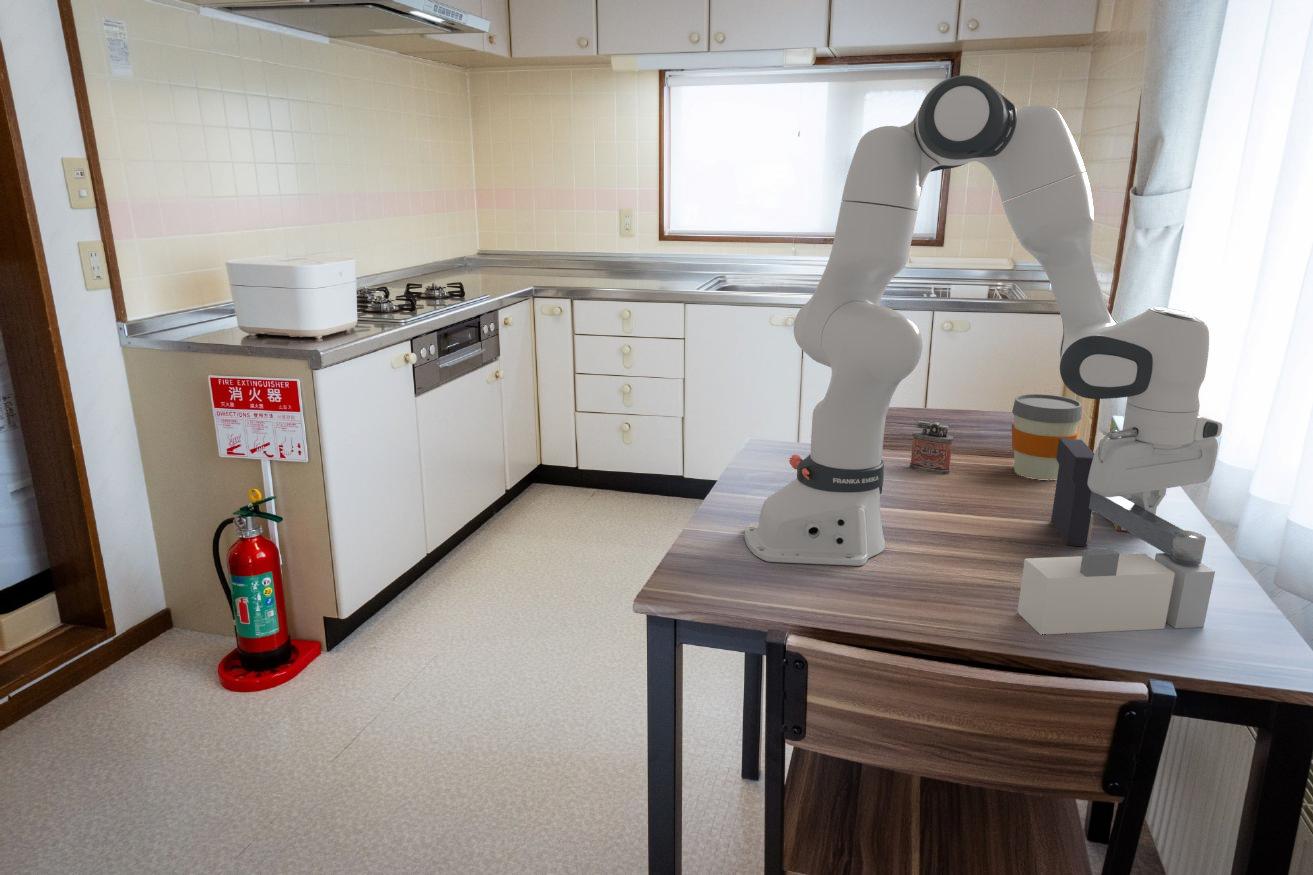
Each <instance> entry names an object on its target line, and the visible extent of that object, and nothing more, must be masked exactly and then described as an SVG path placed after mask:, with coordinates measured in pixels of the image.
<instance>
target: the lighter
mask: <svg viewBox="0 0 1313 875" xmlns="http://www.w3.org/2000/svg"><path fill="white" fill-rule="evenodd" d="M916 429H922V431H921V430H916V431H913V432H912V435H911V436H912V444H911V445H912V446H911V456H910V457H911V458H910V462H909V469H911V470H915V471H919V472H923V473H929V474H935V475H943V476H944V475H945V476H946V475H950V473H951V468H950V466H951V457H952V448H953V443H954V438H955V437H954V436H952V435H948V432H949V426H948V425H943V424H941V423H940V422H938V421H935V422H933V423H930V422H929V421H921V420H919V421H917V422H916ZM928 430H929V431H928Z"/></svg>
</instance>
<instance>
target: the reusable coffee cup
mask: <svg viewBox="0 0 1313 875" xmlns="http://www.w3.org/2000/svg"><path fill="white" fill-rule="evenodd" d="M1014 398H1015V399H1014V402H1013V406H1012V411H1011V412H1012V414H1013V423H1012V425H1011V447H1012V449H1013V450H1014V451H1013V452H1014V453H1013V456H1014V462H1013V463H1014V470H1015V471H1014V473H1015V472H1016V473H1019V474H1020V475H1024V476H1026V477H1032V478H1035V479H1048V480H1050V479H1052V480H1053V479H1057V476H1058V469H1059V463H1058V461H1057V459H1056V456H1057V449H1058V442H1059V439H1060V438H1061V439H1078V438H1077V437H1078V433H1079V432H1078V430H1077V429H1078V426H1079V422H1080V421H1081V420H1082V414H1083V412H1082V411H1083V409H1082V408H1083V403H1082V402H1080V401H1079V400H1077V399H1075V398H1070V397H1066V396H1061V395H1056V394H1047V393H1046V394H1045V393H1029V394H1028V393H1027V394H1020V395H1018V396H1016V397H1014ZM1016 473H1015V474H1016ZM1020 475H1019V476H1020Z"/></svg>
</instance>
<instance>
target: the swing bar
mask: <svg viewBox="0 0 1313 875" xmlns="http://www.w3.org/2000/svg"><path fill="white" fill-rule="evenodd" d="M1089 508H1090V509H1091V510H1093V511H1094V513H1097V514H1098V515H1100V516H1102V517H1104V519H1106V520H1109V521H1110V522H1112V523H1115V524H1117V525H1118V526H1120V527H1122V528H1123V529H1125V530H1127V531H1128V532H1127V533H1130V534H1132V535H1134V536H1136V537H1137V538H1138V539H1140V540H1141V541H1143V542H1146V543H1147V544H1149V545H1151V546H1152V547H1154V548H1156V549H1158V550H1159V551H1160V552H1161V553H1166V554H1167V555H1169V556H1170V558H1171V559H1172V560H1173V561H1175V562H1178V563H1181V564H1185V565H1199V564H1201V563H1202V561H1203V556H1204V550H1205V545H1206V541H1207V538H1206V536H1205V535H1204V534H1201V533H1199V532H1195V531H1191V530H1185V529H1183V528H1180V527H1179V526H1177V525H1175V524H1173V523H1171V522H1169V521H1167V520H1165V519H1163V518H1162V517H1160V516H1158V515H1154V514H1153V513H1151V512H1149V511H1147V510H1145V509H1143V508H1141V507H1140V506H1138V505H1136V504H1134V503H1132V502H1130V501H1129V500H1127V499H1125V498H1123V497H1121V496H1116V497H1104V496H1102V495H1099V494H1097V493H1094V492H1092V491H1091V496H1090V503H1089Z"/></svg>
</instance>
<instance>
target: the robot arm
mask: <svg viewBox="0 0 1313 875" xmlns="http://www.w3.org/2000/svg"><path fill="white" fill-rule="evenodd" d="M1060 113H1061V112H1059V111H1058V110H1057V109H1056V108H1054V107H1052V106H1050V105H1043V104H1037V105H1036V104H1035V105H1028V106H1024V107H1021V108H1019V109H1017V107H1016V105H1015V103H1013V102H1011V100H1009V99H1008V98H1007V97H1006V96H1005V95H1003V94H1002V93H1001V92H1000V91H999V90H997V89H996V87H994V86H993V85H991V84H990V83H989V82H987V81H986V80H984V79H983V78H981V77H979V76H978V77H977V76H975V75H974V76H973V75H965V74H962V75H956V76H952V77H949V78H947V79H944V80H942V81H941V82H939V83H937V84H936V85H935V86H934V87H933V88H932V89H930V90H929V92H928V93H927V94H926V96H925V97H924V99H923V100H922V103H921V105H920V107H919V109H918V111H917V113H916V115H915V116H914V118H913V119H912V120H911V121H910V122H909V123H908V124H905V125H901V126H896V125H885V126H880V127H876V128H873V129H871V130H868V131H867V132H866V133H864V135H863V136H862V137H861V138H860V140H859V141H858V143H857V146H856V148H855V151H854V153H853V157H852V159H851V162H850V165H849V168H848V171H847V175H846V179H845V183H844V186H843V192H842V196H841V202H840V207H839V212H838V217H837V222H836V227H835V232H834V237H833V243H832V247H831V251H830V255H829V258H828V261H827V263H826V266H825V269H824V271H823V272H822V275H821V278H820V280H819V282H818V285H817V287H816V288H815V290H814V293H813V294H812V296H811V298H809V300H808V301H806V303H805V304H803V305H802V306H801V307H800V309H799V310H798V312H797V314H796V316H795V319H794V322H793V335H794V336H793V337H794V339H795V342H796V344H797V346H798V347H799V348H800V349H801V350H802V351H803V352H804V353H805V354H806V355H807V356H808V357H809V358H811V359H812V360H813V361H815V362H816V363H819V364H822V365H824V366H826V367H828V368H830V369H831V376H830V382H829V385H828V388H827V390H826V393H825V396H824V397H823V399H821V400H819V402H818V403H817V404H816V405H814V408H813V411H812V418H811V419H812V420H811V421H812V422H811V433H810V434H811V436H810V439H811V440H810V452H809V455H808V456H806V457H805V458H804V459H802V458H801V456H800V455H798V454H792V455H791V456H790V457H789V459H788V462H789V464H790V465H791V468H793V470H796V478H794V480H793V481H791V482H790V483H788V484H787V485H785V486H783V487H782V488H781V489H779V490H778V491H775V492H774V493H773V494H771V495H770V496H768V497H767V498H766V499H765V500H764V501H763V504H762V507H761V509H760V512H759V518H758V521H757V522H752V523H749V524H748V525H747V526H746V527H745V530H744V541H745V545H746V546H747V547H748V549H749V550H750V552H751V553H753V555H755V556H756V557H757V558H759V559H761V560H763V561H765V562H768V563H769V562H770V563H787V564H788V563H789V564H790V563H792V564H811V565H812V564H813V565H833V566H834V565H836V566H855V567H856V566H858V567H859V566H863V565H865V564H866V563H867V562H868V560H869V559H870V558H872V557H875V556H876V555H879V554H880V553H882V552H883V551H884V550H885V548H886V540H885V537H884V533H883V525H882V517H881V495H882V493H883V492H882V491H883V486H884V479H885V467H884V466H885V463H884V460H883V448H884V447H883V446H884V436H885V429H886V427H885V426H886V420H887V413H888V411H889V407H890V404H891V402H892V399H893V396H894V393H895V392H896V389H897V388H898V386H899V385H900V382H902V381H903V380H904V379H906V378H907V377H908V376H909V375H911V373H912V372H913V371H914V370H915V369H916V367H917V365H918V364H919V362H920V360H921V356H922V354H923V338H922V335H921V332H920V330H919V328H918V326H917V325H916V323H914V321H912V320H910V319H909V318H907V317H906V316H904V315H903V314H901V313H900V312H898V311H896V310H894V309H893V308H890V307H886V306H882V305H880V302H881V299H882V297H883V295H884V293H885V291H886V289H887V287H888V285H889V284H890V282H891V281H892V280H893V278H895V276H896V275H897V274H899V273H901V272H902V270H903V269H904V268H905V267H906V265H907V263H908V260H909V255H910V250H911V244H912V241H913V235H914V231H915V226H916V221H917V216H918V210H919V206H920V200H921V196H922V191H923V188H924V184H925V181H926V179H927V177H928V175H929V174H930V173H931V172H936V171H941V170H949V169H954V168H955V169H956V168H958V167H961V166H964V165H966V164H968V163H971V162H978V163H980V164H982V165H983V166H985V168H987V169H988V171H989V172H990V173H991V175H992V176H993V179H994V181H995V183H996V185H997V189H998V192H999V196H1000V201H1001V202H1002V206H1003V210H1004V213H1005V215H1006V217H1007V218H1006V219H1007V220H1008V222H1009V224H1010V226H1011V229H1012V230H1013V232H1014V234H1015V236H1016V238H1017V240H1018V242H1019V243H1020V245H1021V246H1022V248H1023V249H1025V250H1026V251H1027V252H1028V253H1029V254H1030V255H1032V257H1033V258H1034V259H1036V260H1037V262H1038V263H1039V264H1040V265H1041V267H1042V269H1043V270H1044V272H1045V274H1046V276H1047V278H1048V280H1049V283H1050V286H1051V290H1052V292H1053V296H1054V300H1055V303H1056V305H1057V308H1058V311H1059V314H1060V317H1061V318H1060V319H1061V321H1062V327H1063V328H1062V329H1063V333H1062V337H1061V338H1062V339H1061V343H1060V349H1059V350H1060V352H1059V356H1060V362H1059V373H1060V374H1059V375H1060V378H1061V381H1062V382H1063V384H1064V385H1065V386H1066V388H1067V389H1068V390H1069V391H1070V392H1072V393H1073V394H1075V395H1077V396H1079V397H1081V398H1084V399H1090V400H1104V399H1105V400H1109V399H1118V398H1119V399H1120V398H1122V399H1123V398H1126V403H1125V411H1124V415H1123V416H1124V423H1123V430H1120V431H1118V430H1114V431H1110V430H1109V432H1107V434H1106V435H1105V436H1104V437H1103V438H1101V439H1100V440H1099V442H1098V446H1097V447H1096V450H1095V452H1094V453H1095V454H1094V457H1093V460H1092V464H1091V468H1090V472H1089V477H1088V487H1089V488H1090V490H1091V491H1092V492H1094V493H1097V494H1099V495H1102V496H1104V497H1116V496H1122V495H1128V494H1131V497H1132V499H1133V502H1134V504H1136V505H1138V506H1140V507H1141V508H1143V509H1145V510H1147V511H1149V512H1151V513H1153V514H1154V515H1156V514H1157V510H1158V509H1157V508H1158V507H1159V505H1160V503H1161V502H1162V500H1163V499H1164V497H1165V496H1166V492H1167V489H1171V488H1178V487H1183V486H1190V485H1197V484H1203V483H1206V482H1208V481H1209V479H1210V478H1211V477H1212V475H1213V474H1214V473H1213V472H1214V470H1215V465H1216V460H1217V457H1218V449H1219V448H1218V447H1219V443H1218V439H1217V438H1219V437H1220V436H1221V435H1222V431H1223V423H1222V422H1220V421H1218V420H1215V419H1211V418H1207V417H1204V416H1200V414H1199V412H1200V400H1199V398H1200V397H1199V394H1200V393H1199V392H1200V389H1201V386H1202V384H1203V382H1204V380H1205V378H1206V373H1207V368H1208V359H1209V350H1210V330H1209V327H1208V325H1207V324H1206V323H1205V321H1203V320H1202V318H1200V317H1198V316H1197V315H1195V314H1193V313H1189V312H1187V311H1183V310H1179V309H1173V308H1168V307H1159V306H1157V307H1156V306H1155V307H1150V308H1147V309H1146V311H1143V312H1142V313H1140V314H1138V315H1136V316H1133V317H1132V318H1129V319H1126V320H1124V321H1122V322H1118V321H1117V320H1116V319H1115V317H1114V316H1113V315H1112V314H1111V312H1110V310H1109V309H1108V308H1109V307H1108V305H1107V302H1106V300H1105V296H1104V293H1103V289H1102V286H1101V283H1100V280H1099V278H1098V274H1097V271H1096V267H1095V264H1094V260H1093V249H1092V247H1093V246H1092V245H1093V234H1094V225H1095V216H1094V214H1095V213H1094V204H1093V203H1094V202H1093V197H1092V191H1091V186H1090V182H1089V178H1088V175H1087V174H1088V173H1087V172H1086V168H1085V166H1084V161H1083V159H1082V156H1081V153H1080V151H1079V149H1078V146H1077V144H1076V142H1075V139H1074V137H1073V135H1072V133H1071V131H1070V129H1069V127H1068V125H1067V123H1066V122H1065V120H1064V118H1063V116H1062V115H1061V114H1060ZM1156 516H1157V515H1156Z"/></svg>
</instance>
